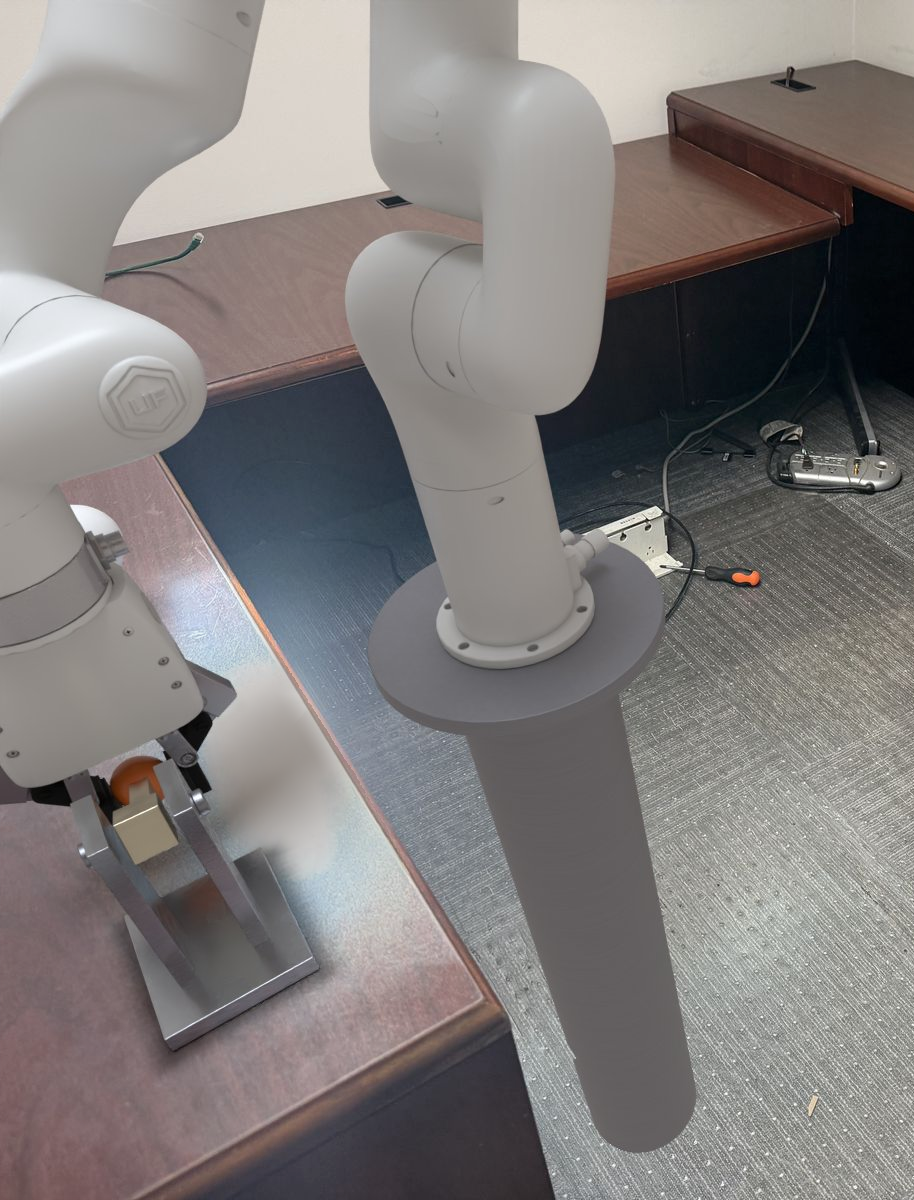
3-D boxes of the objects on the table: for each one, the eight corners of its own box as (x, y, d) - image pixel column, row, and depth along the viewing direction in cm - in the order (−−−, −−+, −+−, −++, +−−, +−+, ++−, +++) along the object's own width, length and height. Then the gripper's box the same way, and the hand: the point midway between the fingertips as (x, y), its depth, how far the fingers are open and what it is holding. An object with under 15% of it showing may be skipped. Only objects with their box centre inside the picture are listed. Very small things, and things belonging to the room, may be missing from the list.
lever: (125, 811, 67) (99, 766, 66) (180, 785, 68) (156, 741, 67) (127, 877, 56) (97, 824, 55) (193, 845, 57) (164, 793, 56)
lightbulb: (92, 607, 90) (27, 495, 83) (171, 595, 90) (113, 483, 83) (69, 655, 85) (-2, 541, 78) (152, 642, 86) (90, 528, 79)
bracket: (131, 927, 65) (28, 785, 57) (267, 858, 69) (187, 715, 61) (173, 1052, 59) (63, 912, 51) (319, 969, 63) (239, 826, 55)
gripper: (171, 498, 62) (279, 723, 74) (-176, 618, 55) (5, 849, 66) (207, 558, 58) (316, 789, 69) (-167, 699, 50) (26, 932, 62)
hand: (163, 816), depth 68 cm, fingers open, 3 cm apart
